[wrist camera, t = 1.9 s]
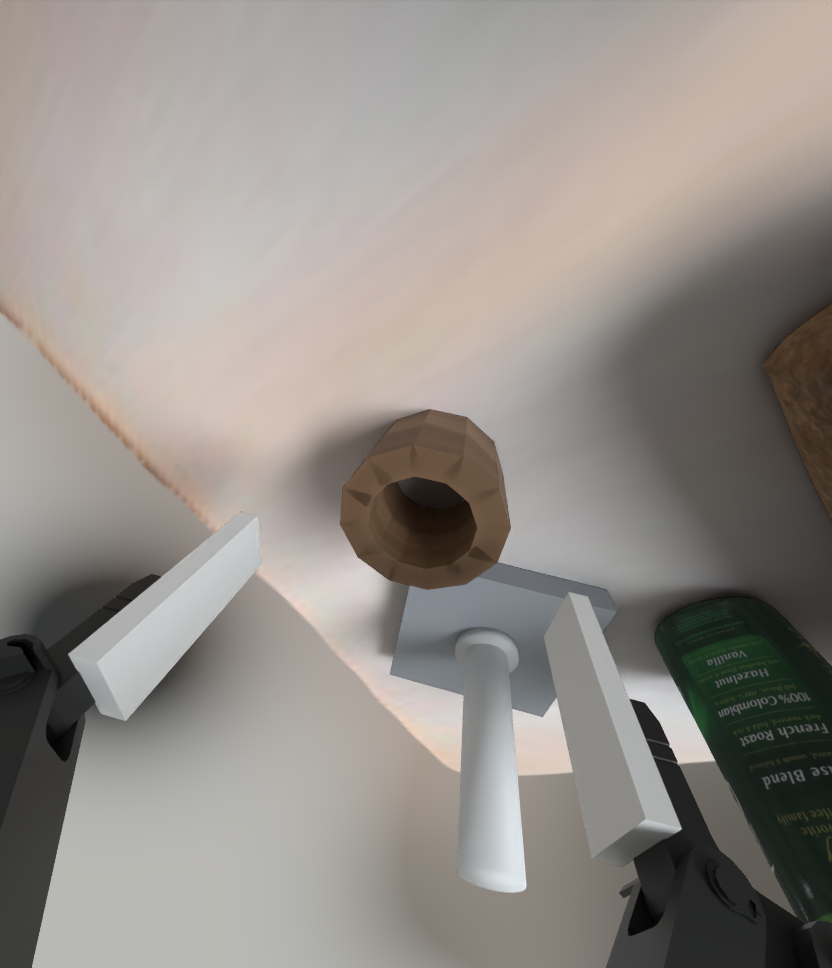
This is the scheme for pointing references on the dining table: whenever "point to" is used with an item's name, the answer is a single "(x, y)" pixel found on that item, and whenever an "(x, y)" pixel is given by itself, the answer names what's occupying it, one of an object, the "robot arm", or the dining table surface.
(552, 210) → the dining table surface
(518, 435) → the dining table surface
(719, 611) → the coffee jar
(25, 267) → the dining table surface
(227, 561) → the robot arm
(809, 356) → the bread
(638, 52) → the dining table surface
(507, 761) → the post block
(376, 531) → the ring
